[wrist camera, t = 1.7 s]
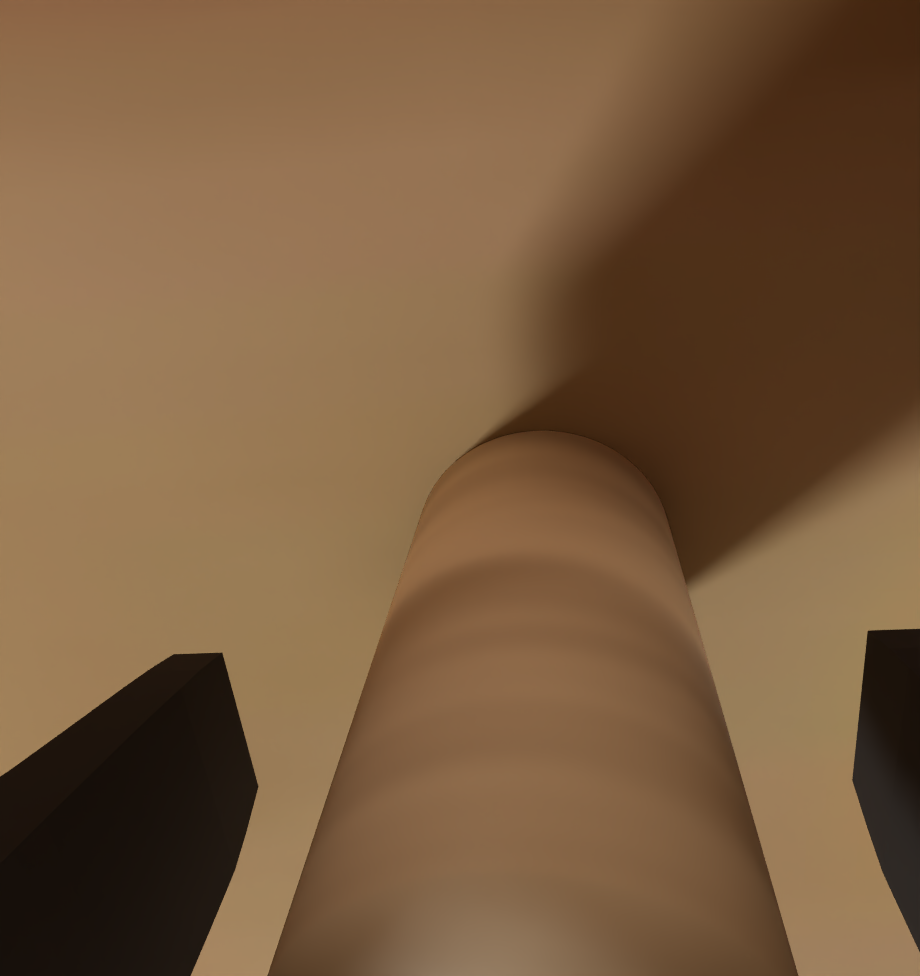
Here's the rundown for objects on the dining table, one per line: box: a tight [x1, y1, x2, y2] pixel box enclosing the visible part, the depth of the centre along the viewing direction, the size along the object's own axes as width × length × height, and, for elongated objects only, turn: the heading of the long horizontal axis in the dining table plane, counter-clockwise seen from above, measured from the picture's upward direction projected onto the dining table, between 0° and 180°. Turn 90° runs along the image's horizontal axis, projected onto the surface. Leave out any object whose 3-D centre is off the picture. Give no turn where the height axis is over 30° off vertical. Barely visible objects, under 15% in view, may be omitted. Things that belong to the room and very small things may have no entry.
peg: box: [268, 431, 798, 976], centre depth 10 cm, size 4×4×8 cm
